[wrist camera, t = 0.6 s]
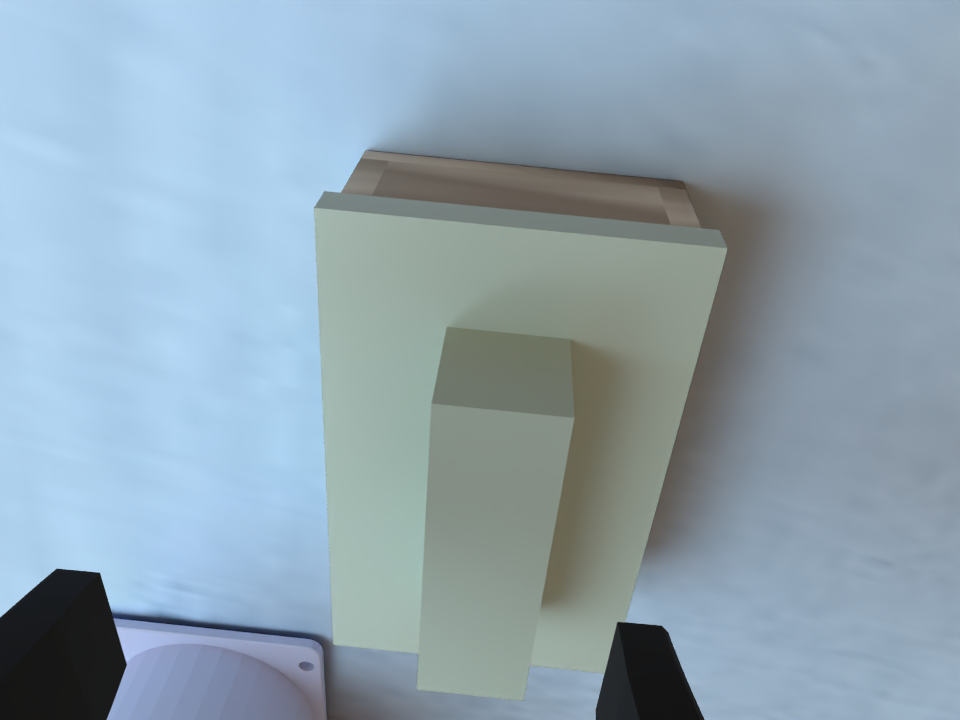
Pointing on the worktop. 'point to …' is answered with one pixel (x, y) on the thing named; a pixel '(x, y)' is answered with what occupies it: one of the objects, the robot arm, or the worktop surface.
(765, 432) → the worktop surface
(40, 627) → the robot arm
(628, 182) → the box
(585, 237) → the lid
